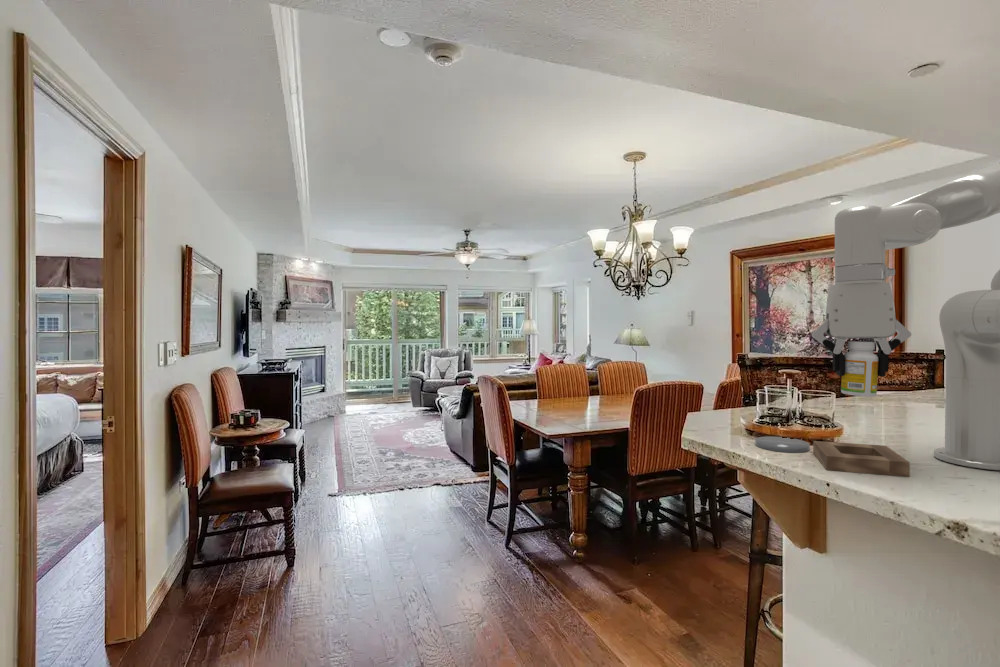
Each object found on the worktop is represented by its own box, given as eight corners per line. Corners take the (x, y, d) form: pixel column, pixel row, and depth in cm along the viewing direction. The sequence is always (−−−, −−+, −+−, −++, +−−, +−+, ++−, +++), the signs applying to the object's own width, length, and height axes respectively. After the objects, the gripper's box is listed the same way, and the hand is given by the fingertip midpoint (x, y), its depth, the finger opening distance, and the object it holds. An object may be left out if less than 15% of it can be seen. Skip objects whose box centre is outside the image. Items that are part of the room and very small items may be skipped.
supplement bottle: (865, 392, 97) (868, 341, 96) (883, 397, 91) (886, 343, 91) (834, 391, 97) (837, 340, 97) (851, 396, 92) (854, 342, 91)
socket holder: (885, 458, 98) (886, 445, 98) (909, 476, 87) (909, 462, 87) (813, 453, 102) (813, 440, 102) (826, 470, 91) (826, 455, 91)
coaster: (804, 443, 111) (804, 438, 111) (814, 454, 101) (814, 449, 101) (753, 439, 114) (753, 435, 114) (757, 450, 105) (757, 445, 105)
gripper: (909, 275, 94) (909, 374, 94) (801, 280, 100) (802, 372, 101) (926, 272, 87) (926, 379, 88) (809, 277, 93) (809, 377, 94)
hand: (860, 374), depth 94 cm, fingers closed on supplement bottle, 5 cm apart
